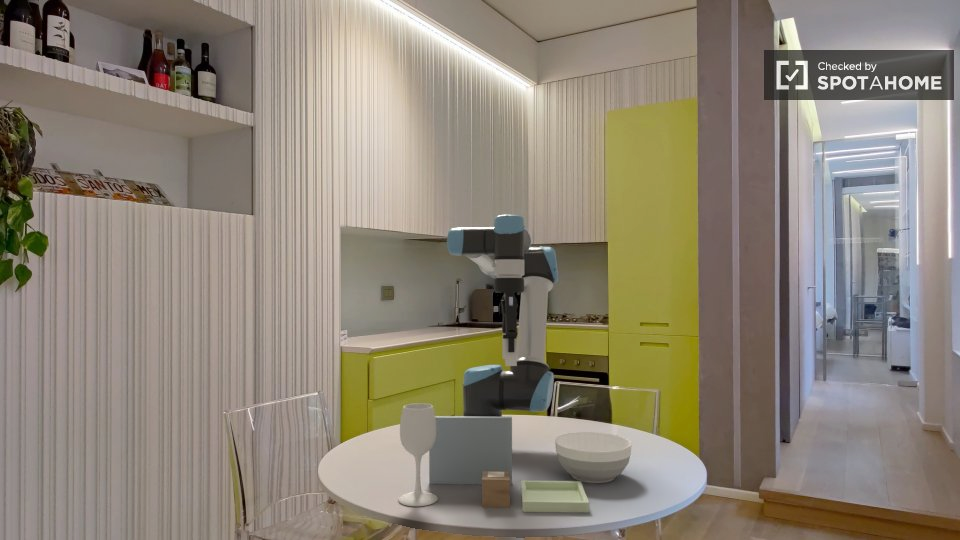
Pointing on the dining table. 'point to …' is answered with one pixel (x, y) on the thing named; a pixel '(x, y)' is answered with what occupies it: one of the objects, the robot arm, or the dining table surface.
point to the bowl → (593, 455)
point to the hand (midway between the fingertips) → (509, 362)
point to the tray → (553, 496)
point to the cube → (496, 489)
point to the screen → (470, 448)
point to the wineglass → (418, 446)
